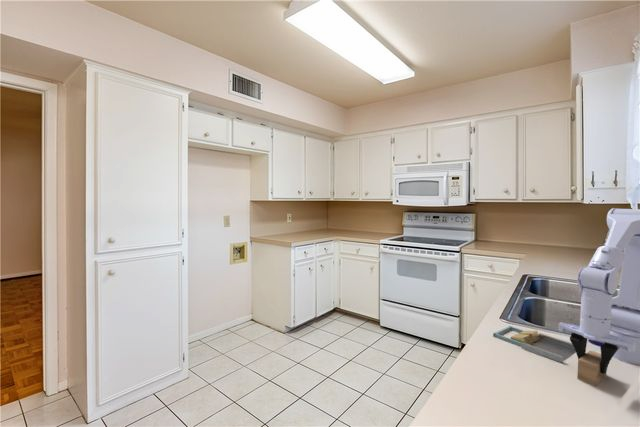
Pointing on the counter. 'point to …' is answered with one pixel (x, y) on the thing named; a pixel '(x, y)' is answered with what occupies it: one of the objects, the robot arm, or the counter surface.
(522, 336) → the brass chip
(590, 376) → the tan rectangular block
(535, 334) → the brass chip
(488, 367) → the counter surface
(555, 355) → the slot plate
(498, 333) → the tray
